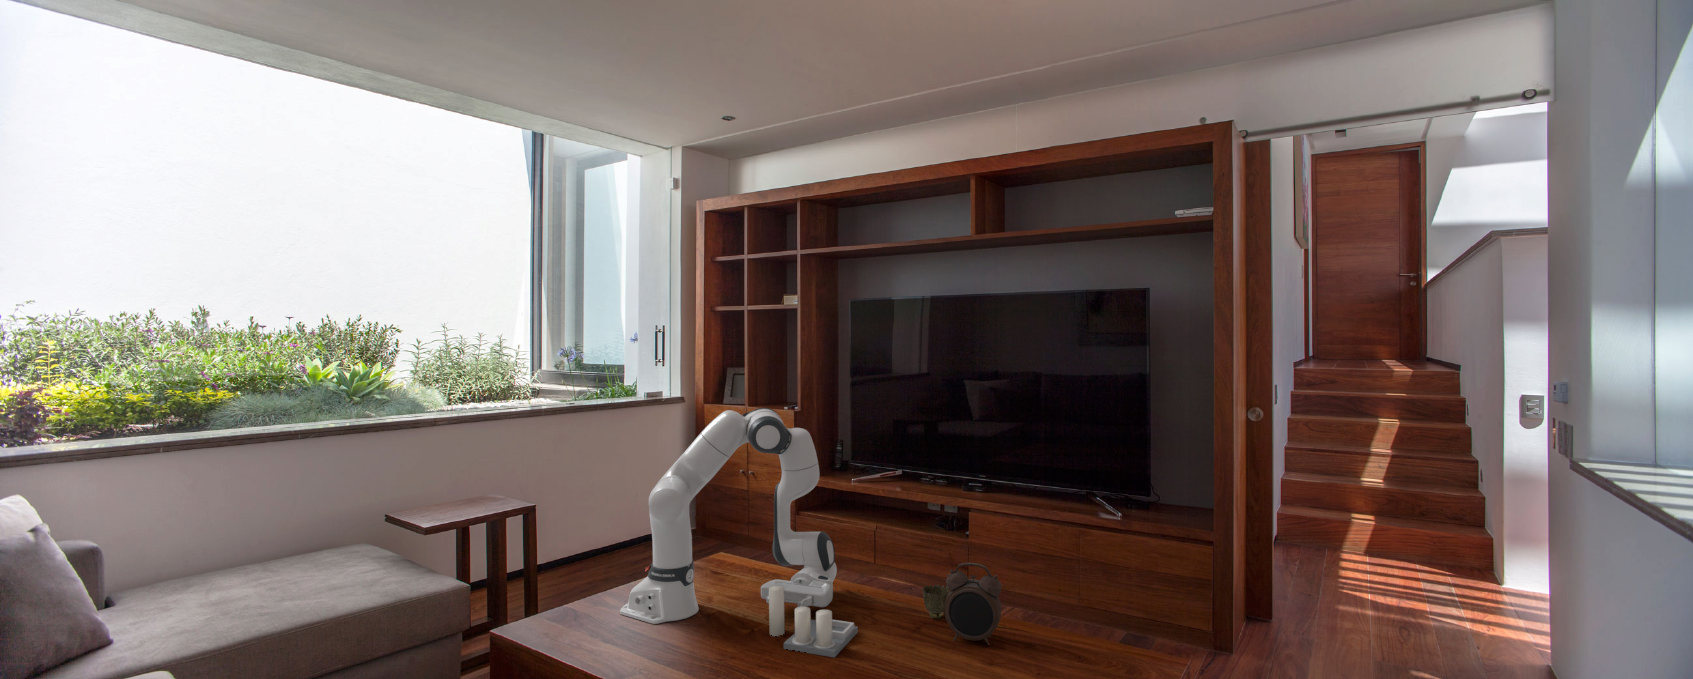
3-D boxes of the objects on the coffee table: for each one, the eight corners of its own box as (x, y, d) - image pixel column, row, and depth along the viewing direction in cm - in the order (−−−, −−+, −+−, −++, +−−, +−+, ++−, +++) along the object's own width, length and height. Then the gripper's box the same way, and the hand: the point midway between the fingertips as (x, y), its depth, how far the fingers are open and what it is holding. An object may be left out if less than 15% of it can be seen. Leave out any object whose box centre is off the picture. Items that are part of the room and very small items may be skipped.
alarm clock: (942, 643, 186) (941, 565, 186) (948, 632, 193) (947, 557, 193) (1000, 650, 182) (999, 571, 181) (1003, 639, 188) (1002, 562, 188)
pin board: (783, 649, 184) (783, 611, 184) (810, 625, 199) (809, 590, 199) (834, 657, 179) (833, 619, 179) (857, 632, 194) (857, 596, 194)
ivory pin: (766, 635, 193) (766, 590, 193) (773, 629, 197) (773, 585, 196) (780, 637, 191) (779, 592, 191) (787, 631, 195) (786, 587, 195)
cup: (948, 623, 199) (948, 594, 199) (921, 621, 200) (921, 592, 200) (950, 612, 206) (949, 584, 206) (924, 611, 208) (923, 583, 208)
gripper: (773, 571, 215) (750, 586, 202) (837, 579, 207) (817, 596, 194) (773, 592, 215) (750, 609, 202) (837, 601, 207) (817, 619, 194)
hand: (783, 603), depth 198 cm, fingers open, 8 cm apart
